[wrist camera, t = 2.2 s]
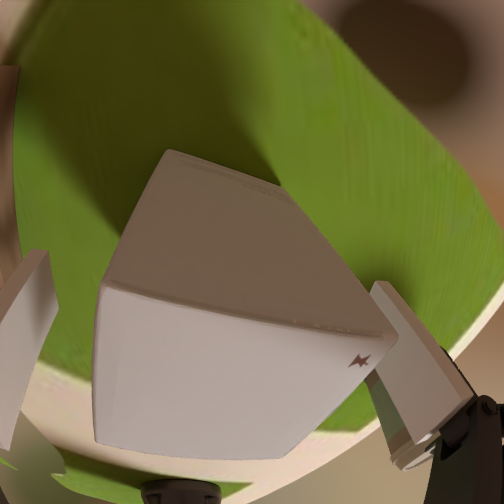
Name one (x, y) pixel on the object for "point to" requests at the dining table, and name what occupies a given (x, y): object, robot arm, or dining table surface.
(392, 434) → the coffee cup
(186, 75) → the dining table surface
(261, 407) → the supplement box
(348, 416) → the dining table surface
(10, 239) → the dock
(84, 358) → the dining table surface
